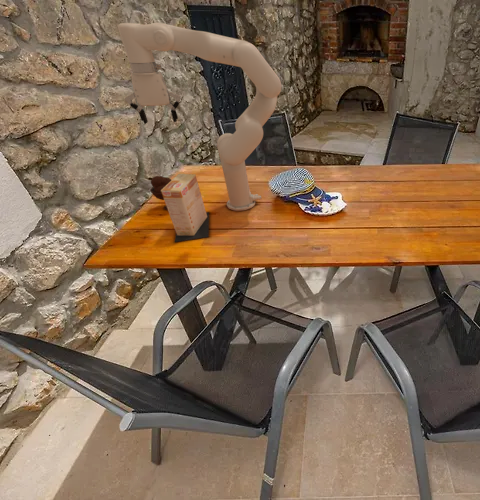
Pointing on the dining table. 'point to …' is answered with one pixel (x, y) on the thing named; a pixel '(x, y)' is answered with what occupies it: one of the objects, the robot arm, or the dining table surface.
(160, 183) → the ice cream bowl
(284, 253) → the dining table surface
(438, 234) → the dining table surface
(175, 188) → the coffeecake box
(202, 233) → the mat
